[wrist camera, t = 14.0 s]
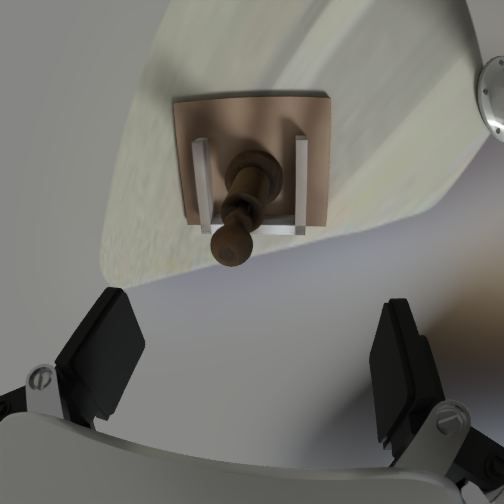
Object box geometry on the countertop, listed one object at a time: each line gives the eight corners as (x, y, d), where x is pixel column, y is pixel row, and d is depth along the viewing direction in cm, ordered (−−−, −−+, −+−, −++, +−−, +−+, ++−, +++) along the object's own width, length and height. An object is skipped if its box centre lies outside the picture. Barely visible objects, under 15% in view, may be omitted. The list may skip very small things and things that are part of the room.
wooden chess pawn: (231, 202, 39) (191, 292, 23) (224, 151, 35) (172, 214, 20) (284, 199, 38) (279, 292, 22) (281, 147, 34) (273, 208, 19)
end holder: (329, 97, 32) (334, 99, 28) (325, 223, 40) (328, 237, 36) (176, 102, 34) (163, 105, 30) (189, 221, 42) (180, 235, 39)
